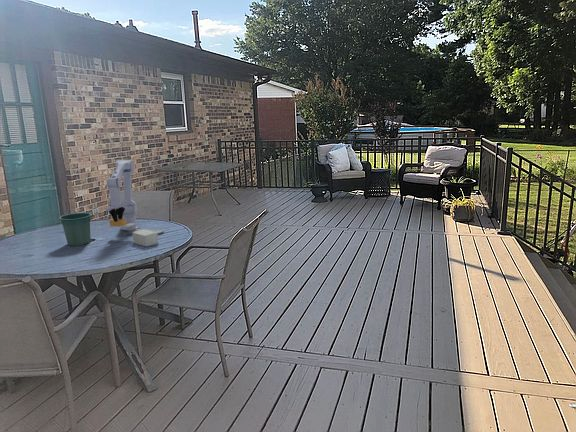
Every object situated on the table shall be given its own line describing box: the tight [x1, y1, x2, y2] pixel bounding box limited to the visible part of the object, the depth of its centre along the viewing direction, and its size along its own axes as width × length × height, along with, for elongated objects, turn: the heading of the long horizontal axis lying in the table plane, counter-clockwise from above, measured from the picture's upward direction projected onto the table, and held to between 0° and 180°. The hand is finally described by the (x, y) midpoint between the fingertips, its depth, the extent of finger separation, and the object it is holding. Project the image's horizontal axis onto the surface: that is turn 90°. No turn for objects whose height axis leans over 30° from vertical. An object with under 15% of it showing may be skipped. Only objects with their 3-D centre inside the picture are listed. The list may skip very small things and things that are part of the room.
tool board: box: [126, 228, 165, 236], centre depth 270 cm, size 20×10×1 cm, turn 65°
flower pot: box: [59, 212, 92, 247], centre depth 251 cm, size 16×16×16 cm
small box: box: [132, 229, 159, 247], centre depth 248 cm, size 8×6×13 cm
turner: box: [109, 218, 137, 228], centre depth 258 cm, size 15×7×4 cm, turn 65°
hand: (118, 220), depth 259 cm, fingers closed on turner, 3 cm apart
